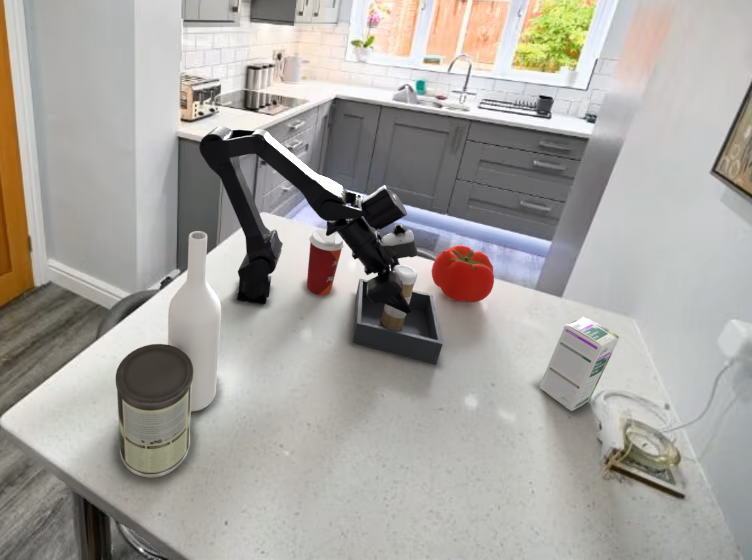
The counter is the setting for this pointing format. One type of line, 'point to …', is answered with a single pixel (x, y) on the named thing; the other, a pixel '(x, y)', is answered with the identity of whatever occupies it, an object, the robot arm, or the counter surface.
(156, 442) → the coffee can
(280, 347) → the counter surface
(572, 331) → the syrup box
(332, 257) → the paper cup
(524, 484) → the counter surface
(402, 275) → the sprinkles bottle
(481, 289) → the tomato
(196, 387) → the bottle
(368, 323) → the bin
